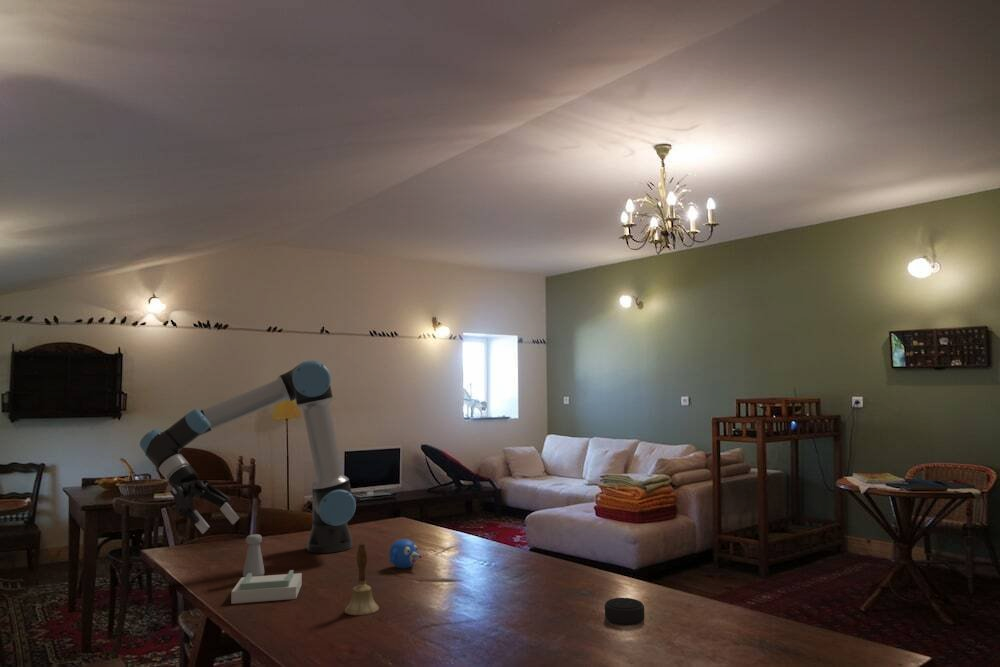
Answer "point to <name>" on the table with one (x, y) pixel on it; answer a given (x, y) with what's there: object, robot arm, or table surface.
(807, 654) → the table surface
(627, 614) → the smart speaker
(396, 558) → the blue rounded piece
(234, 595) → the dock
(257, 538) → the salt shaker
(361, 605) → the hand bell
